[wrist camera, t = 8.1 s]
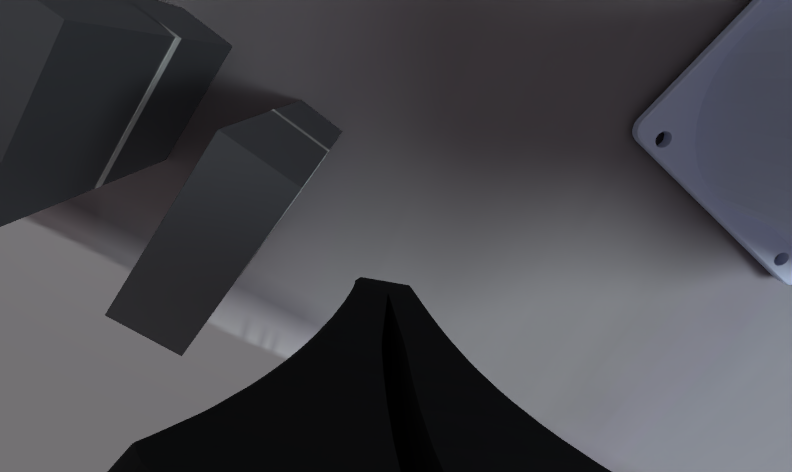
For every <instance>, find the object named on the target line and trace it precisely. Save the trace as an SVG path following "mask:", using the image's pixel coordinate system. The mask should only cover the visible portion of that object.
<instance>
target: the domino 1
mask: <svg viewBox="0 0 792 472" xmlns="http://www.w3.org/2000/svg"><path fill="white" fill-rule="evenodd" d="M231 48H232V46H231V45H230V44H229V43H228V42H226V41H225V40H224V39H222V38H221V37H220V36H219V35H217V34H216V33H215V32H213V31H212V30H211V29H209V28H208V27H207V26H206V25H204V24H203V23H202V22H200V21H199V20H198V19H197V18H195V17H194V16H193V15H191V14H190V13H189V12H188V11H186V10H185V9H183V8H179V7H176V6H173V5H170V4H166V3H163V2H160V1H157V0H0V227H1V226H3V225H6V224H8V223H11V222H13V221H16V220H18V219H21V218H23V217H26V216H28V215H31V214H33V213H35V212H38V211H40V210H43V209H45V208H48V207H50V206H53V205H55V204H58V203H60V202H63V201H65V200H67V199H70V198H72V197H75V196H77V195H80V194H82V193H85V192H87V191H90V190H92V189H96V188H99V187H101V186H102V185H104V184H107V183H109V182H112V181H114V180H117V179H119V178H122V177H124V176H127V175H129V174H131V173H134V172H136V171H139V170H141V169H144V168H146V167H149V166H151V165H154V164H156V163H159V162H161V161H163V160H166V158H167V157H168V155H169V153H170V152H171V150H172V148H173V146H174V145H175V143H176V141H177V140H178V138H179V136H180V134H181V133H182V131H183V129H184V128H185V126H186V124H187V123H188V121H189V119H190V117H191V116H192V114H193V112H194V111H195V109H196V107H197V106H198V104H199V102H200V100H201V99H202V97H203V95H204V94H205V92H206V90H207V88H208V87H209V85H210V83H211V82H212V80H213V78H214V77H215V75H216V73H217V71H218V70H219V68H220V66H221V65H222V63H223V61H224V60H225V58H226V56H227V54H228V53H229V51H230V49H231Z"/></svg>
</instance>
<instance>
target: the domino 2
mask: <svg viewBox="0 0 792 472" xmlns="http://www.w3.org/2000/svg"><path fill="white" fill-rule="evenodd" d="M341 133H342V131H341V130H340V129H339V128H337V127H336V126H335V125H333V124H332V123H331V122H329V121H328V120H327V119H325V118H324V117H323V116H322V115H320V114H319V113H318V112H316V111H315V110H314V109H312V108H311V107H310V106H309V105H307V104H306V103H305V102H303V101H302V100H300V101H298V102H295V103H292V104H289V105H286V106H283V107H280V108H278V109H272V110H271V111H269V112H266V113H263V114H260V115H257V116H255V117H252V118H249V119H246V120H243V121H240V122H237V123H235V124H232V125H229V126H226V127H223V128H220V129H218V130H217V132H216V133H215V135H214V137H213V138H212V140H211V142H210V143H209V145H208V146H207V148H206V150H205V151H204V153H203V155H202V156H201V158H200V160H199V161H198V163H197V165H196V166H195V168H194V169H193V171H192V173H191V174H190V176H189V178H188V179H187V181H186V183H185V184H184V186H183V188H182V189H181V191H180V193H179V194H178V196H177V197H176V199H175V201H174V202H173V204H172V206H171V207H170V209H169V211H168V212H167V214H166V216H165V217H164V219H163V220H162V222H161V224H160V225H159V227H158V229H157V230H156V232H155V234H154V235H153V237H152V239H151V240H150V242H149V244H148V245H147V247H146V248H145V250H144V252H143V253H142V255H141V257H140V258H139V260H138V262H137V263H136V265H135V267H134V268H133V270H132V271H131V273H130V275H129V276H128V278H127V280H126V281H125V283H124V285H123V286H122V288H121V290H120V291H119V293H118V295H117V296H116V298H115V300H114V301H113V303H112V304H111V306H110V308H109V309H108V311H107V313H106V314H105V315H106V316H107V317H109V318H111V319H113V320H115V321H117V322H119V323H120V324H122V325H124V326H126V327H128V328H130V329H132V330H134V331H136V332H137V333H139V334H141V335H143V336H145V337H147V338H149V339H150V340H152V341H154V342H156V343H158V344H160V345H162V346H164V347H166V348H167V349H169V350H171V351H173V352H175V353H177V354H179V355H181V356H182V355H183V354H184V352H185V351H186V349H187V348H188V346H189V345H190V344H191V342H192V341H193V340H194V338H195V337H196V335H197V334H198V332H199V331H200V330H201V328H202V327H203V326H204V324H205V323H206V322H207V320H208V319H209V317H210V316H211V315H212V313H213V312H214V310H215V309H216V308H217V306H218V305H219V303H220V302H221V301H222V299H223V298H224V296H225V295H226V294H227V292H228V291H229V289H230V288H231V287H232V285H233V284H234V282H235V281H236V280H237V278H238V277H240V275H241V274H242V272H243V271H244V270H245V268H246V267H247V265H248V264H249V263H250V261H251V260H252V258H253V257H254V256H255V254H256V253H257V251H258V250H259V249H260V247H261V246H262V244H263V243H264V242H265V240H266V239H267V238H268V236H269V235H270V233H271V232H272V231H273V229H274V228H275V226H276V225H277V224H278V222H279V221H280V219H281V218H282V217H283V215H284V214H285V212H286V211H287V210H288V208H289V207H290V205H291V204H292V203H293V201H294V200H295V198H296V197H297V196H298V194H299V193H300V192H301V190H302V189H303V187H304V186H305V185H306V183H307V182H308V180H309V179H310V178H311V176H312V175H313V173H314V172H315V171H316V169H317V168H318V166H319V165H320V164H321V162H322V161H323V159H324V158H325V157H326V155H327V154H328V152H329V151H330V148H331V147H332V145H333V144H334V143H335V141H336V140H337V138H338V137H339V136H340V134H341Z"/></svg>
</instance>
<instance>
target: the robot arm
mask: <svg viewBox="0 0 792 472" xmlns="http://www.w3.org/2000/svg"><path fill="white" fill-rule="evenodd" d="M661 132H663V133H664V139H663V141H662V142H661V143H660V144H658V145H656V143H655V141H656V137H657V136H658V134H660V133H661ZM632 133H633V137H634V139H635V140H636V141H637V142H638V143H639V144H640V145H641V146H642V147H643V148H644V149H645V150H646V151H647V152H648V153H649V154H650V155H651V156H652V157H653V158H654V159H655V160H656V161H657V162H658V163H659V164H660V165H661V166H662V167H663V168H664V169H665V170H666V171H667V172H668V173H669V174H670V175H671V176H672V177H673V178H674V179H675V180H676V181H677V182H678V183H679V184H680V185H681V186H682V187H683V188H684V189H685V190H686V191H687V192H688V193H689V194H690V195H691V196H692V197H693V198H694V199H695V200H696V201H697V202H698V203H699V204H700V205H701V206H702V207H703V208H704V209H705V210H706V211H708V212H709V213H710V214H711V215H712V216H713V217H714V218H715V219H716V220H717V221H718V222H719V223H720V224H721V225H722V226H723V227H724V228H725V229H726V230H727V231H728V232H729V233H730V234H731V235H732V236H733V237H734V238H735V239H736V240H737V241H738V242H739V243H740V244H741V245H742V246H743V247H744V248H745V249H746V250H747V251H748V252H749V253H750V254H751V255H752V256H753V257H754V258H755V259H756V260H757V261H758V262H759V263H760V264H761V265H762V266H763V267H764V268H765V269H766V270H767V271H768V272H769V273H770V274H771V275H772V276H773V277H774V278H775V279H777V280H779V281H781V282H782V283H784V284H786V285H792V0H752V1H751V2H750V3H749V4H748V5H747V6H746V7H745V9H744V10H743V11H742V12H741V13H740V14H739V15H738V16H737V17H736V18H735V19H734V20H733V21H732V22H731V23H730V24H729V25H728V26H727V27H726V28H725V29H724V30H723V31H722V32H721V33H720V34H719V35H718V36H717V37H716V38H715V39H714V41H713V42H712V43H711V44H710V45H709V46H708V47H707V48H706V49H705V50H704V51H703V52H702V53H701V54H700V55H699V56H698V57H697V58H696V59H695V60H694V61H693V62H692V63H691V64H690V65H689V66H688V67H687V68H686V69H685V70H684V71H683V72H682V74H681V75H680V76H679V77H678V78H677V79H676V80H675V81H674V82H673V83H672V84H671V85H670V86H669V87H668V88H667V89H666V90H665V91H664V92H663V93H662V94H661V95H660V96H659V97H658V98H657V99H656V100H655V101H654V102H653V103H652V104H651V106H650V107H649V108H648V109H647V110H646V111H645V112H644V113H643V114H642V115H641V116H640V117H639V118H638V119H637V120H636V122H635V123H634V126H633V129H632ZM778 254H779V255H778ZM777 255H778V257H777V258H776V259H775V257H776V256H777ZM108 472H611V471H610V470H608V469H606V468H605V467H603V466H601V465H600V464H598V463H597V462H595V461H594V460H592V459H591V458H589V457H588V456H586V455H585V454H583V453H582V452H580V451H579V450H577V449H576V448H574V447H573V446H571V445H570V444H568V443H567V442H565V441H564V440H562V439H561V438H560V437H558V436H557V435H555V434H554V433H553V432H551V431H550V430H548V429H547V428H546V427H544V426H543V425H542V424H540V423H539V422H538V421H536V420H535V419H534V418H533V417H531V416H530V415H529V414H527V413H526V412H525V411H524V410H522V409H521V408H520V407H519V406H517V405H516V404H515V403H514V402H512V401H511V400H510V399H509V398H508V397H506V396H505V395H504V394H503V393H502V392H501V391H500V390H498V389H497V388H496V387H495V386H494V385H493V384H492V383H491V382H490V381H489V380H488V379H487V378H486V377H485V376H483V375H482V374H481V373H480V372H479V371H478V370H477V369H476V368H475V367H474V366H473V365H472V364H471V363H470V362H469V361H468V360H467V359H466V357H465V356H464V355H463V354H462V353H461V352H460V351H459V350H458V348H457V347H456V346H455V345H454V344H453V343H452V342H451V340H450V339H449V338H448V337H447V336H446V334H445V333H444V332H443V331H442V329H441V328H440V327H439V326H438V324H437V323H436V322H435V320H434V319H433V318H432V316H431V315H430V314H429V312H428V311H427V310H426V308H425V307H424V305H423V304H422V303H421V301H420V300H419V298H418V297H417V295H416V294H415V293H414V291H413V290H412V288H411V287H410V286H409V285H403V284H398V283H392V282H386V281H380V280H375V279H369V278H363V277H360V278H359V279H357V280H355V284H354V287H353V289H352V291H351V292H350V294H349V295H348V297H347V298H346V300H345V301H344V303H343V304H342V305H341V307H340V308H339V309H338V310H337V312H336V313H335V314H334V315H333V317H332V318H331V319H330V320H329V321H328V322H327V323H326V324H325V325H324V326H323V327H322V328H321V329H320V331H319V332H318V333H317V334H316V335H315V336H314V337H313V338H312V339H311V340H309V341H308V342H307V343H306V344H305V345H304V346H303V347H302V348H301V349H299V350H298V351H297V352H296V353H295V354H293V355H292V356H291V357H290V358H288V359H287V360H286V361H285V362H283V363H282V364H280V365H279V366H278V367H276V368H275V369H274V370H272V371H271V372H269V373H268V374H267V375H265V376H264V377H262V378H261V379H259V380H258V381H256V382H255V383H253V384H252V385H250V386H248V387H247V388H245V389H243V390H242V391H240V392H238V393H236V394H234V395H233V396H231V397H229V398H228V399H226V400H224V401H223V402H221V403H219V404H217V405H215V406H214V407H212V408H210V409H208V410H206V411H204V412H202V413H200V414H198V415H196V416H193V417H191V418H189V419H187V420H184V421H182V422H180V423H178V424H176V425H173V426H171V427H169V428H167V429H164V430H162V431H160V432H158V433H156V434H153V435H151V436H149V437H146V438H144V439H141V440H139V441H136V442H134V443H133V444H132V445H131V446H130V447H129V448H128V449H127V450H126V451H125V453H124V454H123V455H122V456H121V457H120V458H119V459H118V460H117V462H116V463H115V464H114V465H113V466H112V467H111V468H110V470H109V471H108Z"/></svg>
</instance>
